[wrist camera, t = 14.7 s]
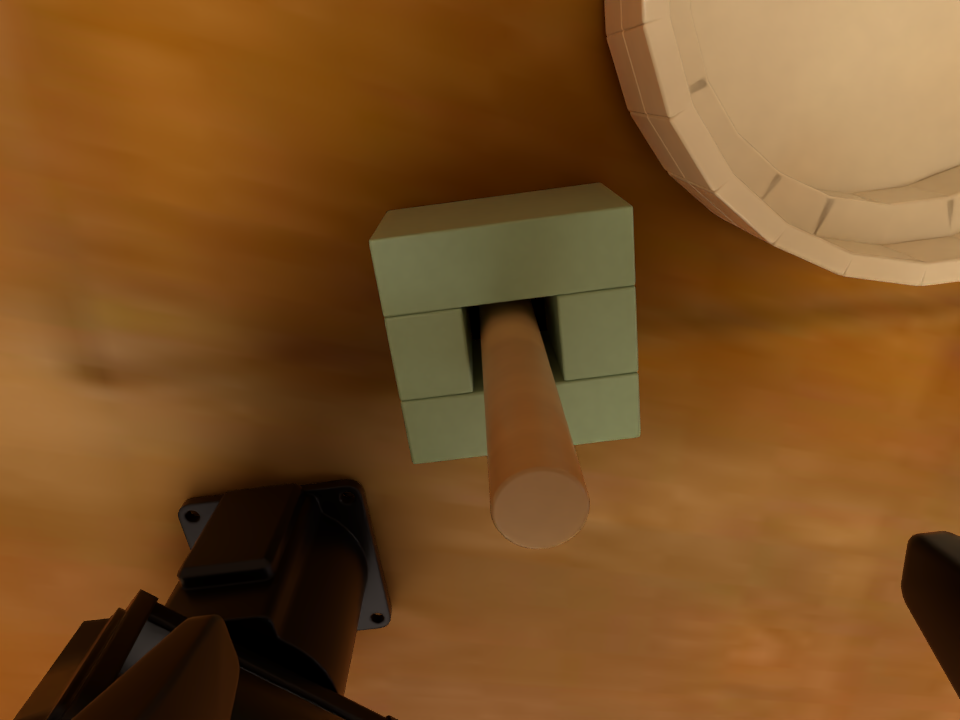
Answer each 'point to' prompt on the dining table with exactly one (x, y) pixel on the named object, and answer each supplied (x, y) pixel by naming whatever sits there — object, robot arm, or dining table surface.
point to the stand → (508, 277)
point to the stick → (527, 433)
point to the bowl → (807, 122)
